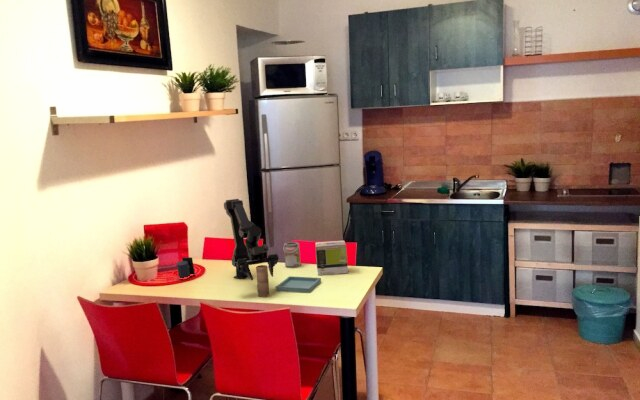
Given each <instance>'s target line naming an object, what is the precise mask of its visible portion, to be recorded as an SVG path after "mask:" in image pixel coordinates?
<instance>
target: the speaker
mask: <svg viewBox="0 0 640 400" xmlns="http://www.w3.org/2000/svg"><path fill="white" fill-rule="evenodd" d="M181 259H182V260H180V261H178V262H176V268H177V273H178V278H179V277H180V278H184V277H188V276H190V274H195V275H196V272H195V267H194V262H193V261H194V260H193V257H187V256H186V257H182V258H181Z"/></svg>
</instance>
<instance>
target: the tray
mask: <svg viewBox="0 0 640 400" xmlns="http://www.w3.org/2000/svg"><path fill="white" fill-rule="evenodd" d="M320 282H321V283H322V277H311V276H292V275H291V276H290V275H288V276H287V278H284V280H282V281H281V282H280V283H278V284H277V285H276V286H275V291H276V292H285V293H286V292H287V293H288V292H290V293H301V294H303V293H305V294H310V293H311V292H312V291H313V290H314V289H315V288H316V287H318V285H320Z"/></svg>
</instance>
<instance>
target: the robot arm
mask: <svg viewBox="0 0 640 400" xmlns="http://www.w3.org/2000/svg"><path fill="white" fill-rule="evenodd" d="M223 209H224V211H225V213H226V215H227V216H228V217H229V218H230V223H231V228H232V233H233V234H232V235H233V240H234V245H235V247H234V249H233V251H232V253H233V254H232V258H231V265H232V266H233V267H234V268H235V272H236V273H235V274H236V275H234V276H233V278H234V279H247V278H249V279H250V280H251V281H253V280H254V278H253V274H252V271H251V269H250V266H252V265H259V264H265V263H267V264H268V265H267V267H268V272H269V274H270V276H271V277H272V278H273V277H274V267H275V266H276V265H277V264H278V262H279V259H280V257H279V254H278V253H270V254H268V257H265V253H266V252H268V251H269V246H268V244H267V243H263V244H262V245H259V241H260V239H261V235H262V231H263V230H262V229H261V227H260V226H257V225H256V223H254V222H252V221H250V219H249V216H248V215H247V212H246V210H245V208H244V202H243V200H241V199H239V198H233V199H226V200H225V201H224V202H223Z"/></svg>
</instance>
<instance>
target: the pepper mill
mask: <svg viewBox="0 0 640 400" xmlns="http://www.w3.org/2000/svg"><path fill="white" fill-rule="evenodd" d="M255 270H256V271H255V273H256V283H257V285H256V286H257V287H256V288H257V296H258V297H259V298H267V297H269V296H270V284H269V282H270V281H269V268H268V265H267V264H264V265H263V264H261V265H257V266H256V267H255Z"/></svg>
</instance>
